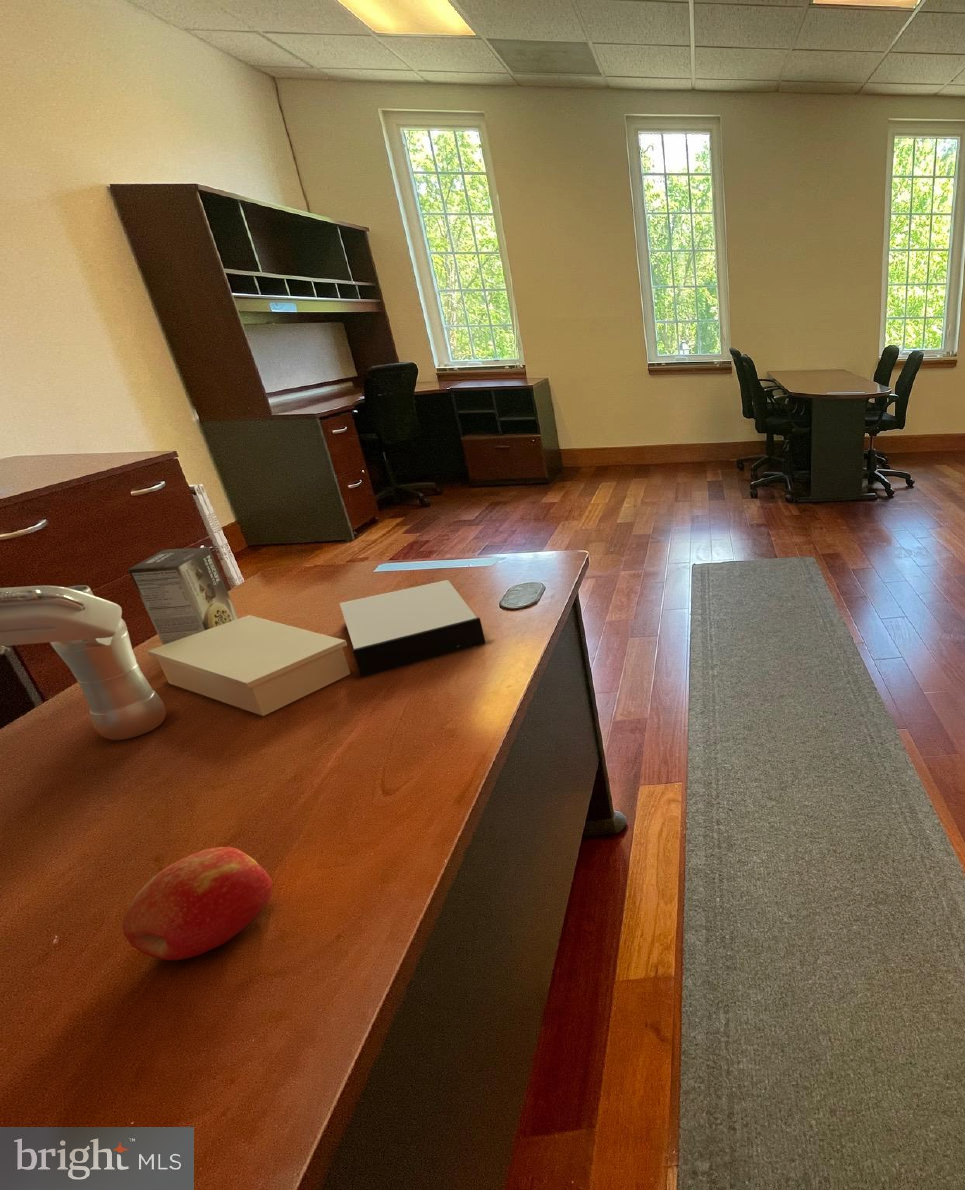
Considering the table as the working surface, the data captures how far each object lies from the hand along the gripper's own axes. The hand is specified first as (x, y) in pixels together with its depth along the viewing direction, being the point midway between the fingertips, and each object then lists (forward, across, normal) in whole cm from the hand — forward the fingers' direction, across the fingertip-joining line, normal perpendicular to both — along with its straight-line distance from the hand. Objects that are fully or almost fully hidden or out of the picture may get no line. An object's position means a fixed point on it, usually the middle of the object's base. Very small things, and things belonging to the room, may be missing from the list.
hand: (54, 644), depth 70 cm
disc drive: (+30, -26, -8) cm, 40 cm away
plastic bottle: (+14, 0, +8) cm, 16 cm away
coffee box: (+31, +5, -9) cm, 33 cm away
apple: (-12, -28, +34) cm, 45 cm away
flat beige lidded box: (+22, -9, 0) cm, 23 cm away
